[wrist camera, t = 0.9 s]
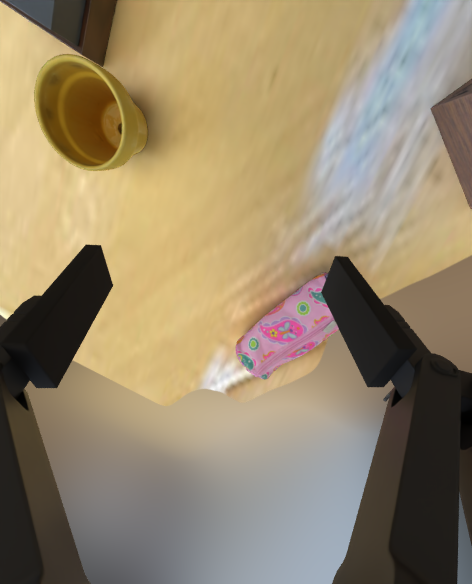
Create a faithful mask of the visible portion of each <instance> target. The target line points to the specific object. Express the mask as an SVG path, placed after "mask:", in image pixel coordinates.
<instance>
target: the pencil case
mask: <svg viewBox="0 0 472 584" xmlns="http://www.w3.org/2000/svg"><path fill="white" fill-rule="evenodd" d="M327 276H328V273H322V274H320V275H319V276H316V277H315V278H313V279H312V280H311V281H309V282H308V283H306V284H305V285H303V286H302V287H301V288H299V289H298V290H297V291H296V292H295V293H293V294H292V295H291V296H290V297H288V298H287V299H286V300H284V301H283V302H282V303H280V304H279V305H278V306H277V307H275V308H274V309H273V310H272V311H270V312H269V313H268V314H266V315H265V316H264V317H263V318H262V319H261V320H259V321H258V322H257V323H256V324H255V325H254V326H253V327H252V328H251V329H250V330H249V331H248V332H247V333H246V334H245V335H244V336H242V337H241V338H240V339H239V340H238V341H237V344H236V354H237V357H238V359H239V361H240V362H241V364H242V365H243V366H244V367H246V370H247V371H249V372H250V373H252V374H253V375H254V376H256V377H259V378H261V379H268V378H269V376H270V375H271V373H272V372H273V371H275V370H276V369H277V368H278V367H279V366H281V365H282V364H283V363H286V362H288V361H291V360H293V359H296V358H298V357H300V356H302V355H303V354H305V353H307V352H308V351H310V350H311V349H313V348H314V347H316V346H317V345H318V344H320V343H321V342H322V341H324V340H325V339H327V338H328V337H330V336H331V335H333V334H334V333H335V332H336V331H337V330H339V328H338V326H337V324H336V322H335V320H334V318H333V316H332V314H331V312H330V310H329V308H328V306H327V304H326V302H325V300H324V298H323V296H322V293H321V291H322V289H323V286H324V284H325V281H326V278H327Z"/></svg>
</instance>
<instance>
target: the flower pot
mask: <svg viewBox="0 0 472 584" xmlns="http://www.w3.org/2000/svg"><path fill="white" fill-rule="evenodd" d="M34 102H35V110H36V114H37V118H38V121H39V124H40V126H41V129H42V131H43V133H44V135H45V137H46V138H47V140H48V142H49V143H50V144H51V146H52V147H53V148H54V150H55V151H56V152H57V153H58V154H59V155H60V156H61V157H63V158H64V159H65V160H66V161H68V162H69V163H71V164H72V165H74V166H76V167H78V168H81V169H84V170H89V171H103V170H110V169H115V168H118V167H120V166H122V165H124V164H125V163H126V162H127V161H128V160H129V159H130V158H131V156H133V155H135V154H137V153H139V152H140V151H141V150H142V149H143V148H144V146H145V144H146V142H147V137H148V128H147V123H146V120H145V117H144V115H143V114H142V112H141V110H140V109H139V108H138V107H137V106H136V105H135V104H134V102H133V101H132V100H131V98H130V96H129V94H128V92H127V91H126V89H125V88H124V86H123V85H122V84H121V83H120V82H119V81H118V80H117V79H116V78H115V77H114V76H113V75H112V74H110V73H109V72H108V71H106V70H105V69H103V68H102V67H100V66H99V65H97V64H95V63H93V62H91V61H90V60H88V59H86V58H83V57H81V56H77V55H72V54H63V55H59V56H56V57H54V58H52V59H50V60H49V61H48V62H46V64H45V65H44V66H43V67H42V69H41V70H40V72H39V74H38V77H37V80H36V84H35V90H34ZM121 126H122V132H121V129H120V128H121Z"/></svg>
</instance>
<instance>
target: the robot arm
mask: <svg viewBox="0 0 472 584" xmlns="http://www.w3.org/2000/svg"><path fill="white" fill-rule="evenodd" d="M112 287H113V284H112V280H111V277H110V274H109V271H108V267H107V264H106V261H105V257H104V254H103V251H102V247H101V245H85V246H84V248H83V249H82V250H81V251H80V252H79V253H78V254H77V256H76V257H75V258H74V259H73V260H72V261H71V263H70V264H69V265H68V266H67V267H66V268H65V269H64V271H63V272H62V273H61V274H60V275H59V276H58V277H57V279H56V280H55V281H54V282H53V283H52V284H51V286H50V287H49V288H48V289H47V290H46V291H45V292H44V294H43V295H42V296H33V297H31V298H30V299H28V300H27V301H25V302H23V303H22V304H21V305H20V306H19V307H18V308H17V309H16V310H15V312H14V314H12V315H11V316H10V317H9V318H8V319H7V321H6V322H4V323H3V324H2V326H1V327H0V584H90V582H89V581H88V579H87V577H86V575H85V573H84V570H83V567H82V564H81V561H80V558H79V554H78V551H77V548H76V545H75V542H74V539H73V535H72V532H71V529H70V526H69V523H68V520H67V516H66V513H65V510H64V507H63V504H62V500H61V497H60V494H59V491H58V488H57V485H56V482H55V478H54V475H53V472H52V469H51V466H50V462H49V459H48V456H47V453H46V450H45V447H44V444H43V440H42V437H41V434H40V431H39V428H38V424H37V421H36V418H35V415H34V412H33V408H32V406H31V402H30V399H29V396H28V393H27V392H26V390H25V389H24V388H25V387H26V385H27V384H28V382H29V381H31V382H32V383H33V384H34V385H35V387H36V388H57V387H58V385H59V383H60V381H61V379H62V378H63V376H64V374H65V372H66V371H67V369H68V367H69V365H70V363H71V361H72V360H73V358H74V356H75V354H76V352H77V351H78V349H79V347H80V345H81V343H82V341H83V340H84V338H85V336H86V334H87V332H88V330H89V329H90V327H91V325H92V323H93V321H94V320H95V318H96V316H97V314H98V312H99V310H100V309H101V307H102V305H103V303H104V301H105V299H106V298H107V296H108V294H109V292H110V290H111V289H112ZM321 293H322V296H323V298H324V300H325V302H326V304H327V306H328V308H329V310H330V312H331V314H332V316H333V318H334V320H335V322H336V324H337V326H338V328H339V330H340V332H341V334H342V336H343V338H344V340H345V342H346V344H347V346H348V348H349V350H350V352H351V354H352V356H353V358H354V360H355V362H356V364H357V366H358V369H359V370H360V373H361V375H362V376H363V379H364V381H365V383H366V385H367V387H384V386H385V385H386V384H387V383H388V382H389V381H390V380H391V381H392V383H393V385H394V386H395V387H394V388H393V389H392V390H391V391H390V392H389V393H388V394H387V395H386V397H385V398H384V401H387V400H388V399H389V401H388V404H387V408H386V412H385V415H384V419H383V423H382V426H381V430H380V434H379V437H378V441H377V445H376V449H375V452H374V456H373V459H372V463H371V467H370V470H369V474H368V478H367V482H366V485H365V488H364V492H363V496H362V499H361V503H360V507H359V510H358V514H357V518H356V522H355V525H354V529H353V532H352V536H351V540H350V543H349V547H348V551H347V554H346V557H345V559H344V561H343V563H342V564H341V566H340V567H339V569H338V570H337V573H336V575H335V577H334V580H333V583H332V584H457V568H458V519H459V492H460V496H461V500H462V505H463V509H464V514H465V518H466V523H467V527H468V531H469V536H470V540H471V544H472V373H468V372H464V371H461V370H458V368H457V367H456V366H455V365H454V364H453V363H452V362H451V361H449V360H447V359H446V358H444V357H442V356H440V355H437V354H432V353H431V352H430V351H429V350H428V349H427V348H426V346H425V345H424V344H423V343H422V341H421V340H420V339H419V337H418V336H417V335H416V334H415V333H414V331H413V330H412V329H410V326H409V325H408V324H407V322H405V320H404V318H403V317H402V316H401V315H400V314H399V312H397V311H396V310H395V309H393V308H392V307H391V306H390V305H384V304H383V303H382V302H381V300H380V299H379V298H378V296H377V295H376V294H375V292H374V291H373V290H372V288H371V287H370V286H369V284H368V283H367V282H366V280H365V279H364V278H363V276H362V275H361V274H360V272H359V271H358V270H357V269H356V267H355V266H354V265H353V263H352V262H351V261H350V259H349V258H348V257H340V256H335V258H334V260H333V263H332V266H331V268H330V271H329V273H328V276H327V278H326V281H325V284H324V286H323V289H322V291H321Z"/></svg>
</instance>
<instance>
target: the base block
mask: <svg viewBox="0 0 472 584" xmlns="http://www.w3.org/2000/svg"><path fill="white" fill-rule="evenodd" d="M116 1H117V0H86V4H85V10H84V16H83V22H82V28H81V34H80V40H79V46H76V45H74V44H73V43H71V42H70V41H68V40H66V39H65V38H63V37H61V36H60V35H58V34H57V33H55V32H53V31H52V30H50V29H49V28H47V27H46V26H44V25H42V24H41V23H39V22H38V21H36V20H35V19H33V18H32V17H30V16H29V15H27V14H26V13H24V12H23V11H21V10H20V9H18V8H17V7H15V6H14V5H12V4H11V3H9V2H7V1H6V0H0V2H2V3H3V4H5V5H6V6H8V7H9V8H11V9H13V10H14V11H16V12H17V13H19V14H20V15H22V16H23V17H25V18H26V19H28V20H29V21H31V22H32V23H34V24H35V25H37V26H39V27H40V28H42V29H43V30H45V31H46V32H48V33H49V34H51V35H52V36H54V37H55V38H57V39H58V40H60V41H61V42H63V43H64V44H66V45H68V46H69V47H71V48H72V49H74V50H75V51H77V52H78V53H80V54H81V55H83V56H85V57H86V58H88V59H90V60H92V61H93V62H95V63H97V64H98V65H100V66H102V67H103V63H104V58H105V54H106V49H107V44H108V39H109V34H110V30H111V25H112V20H113V15H114V11H115V6H116Z"/></svg>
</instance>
